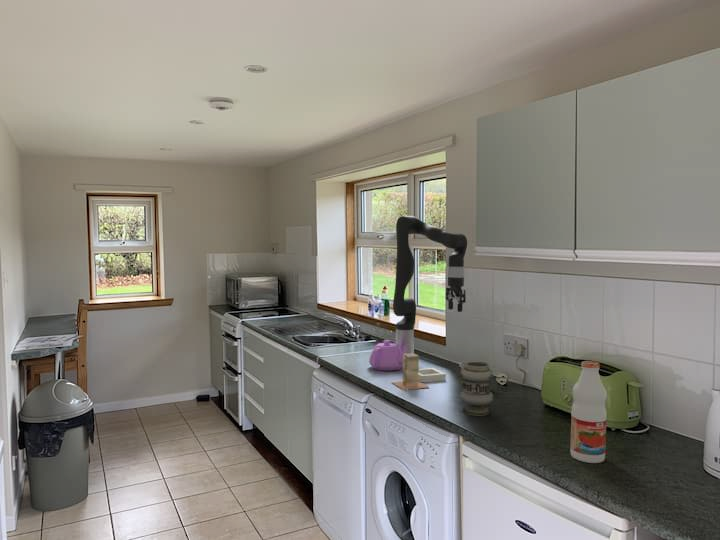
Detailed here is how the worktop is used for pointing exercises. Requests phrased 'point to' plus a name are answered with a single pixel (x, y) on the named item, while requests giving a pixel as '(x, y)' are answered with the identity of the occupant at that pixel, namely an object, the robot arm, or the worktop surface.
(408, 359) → the beech block
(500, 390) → the worktop surface
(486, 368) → the apothecary jar
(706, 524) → the worktop surface
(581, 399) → the fruit juice
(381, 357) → the teapot
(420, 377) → the collar frame
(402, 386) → the mat
